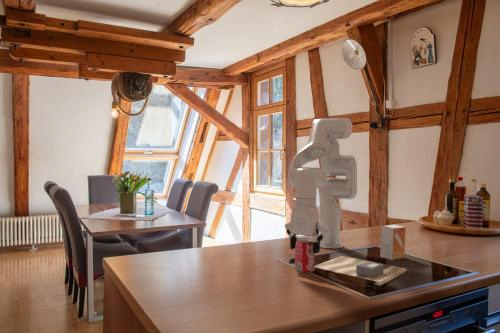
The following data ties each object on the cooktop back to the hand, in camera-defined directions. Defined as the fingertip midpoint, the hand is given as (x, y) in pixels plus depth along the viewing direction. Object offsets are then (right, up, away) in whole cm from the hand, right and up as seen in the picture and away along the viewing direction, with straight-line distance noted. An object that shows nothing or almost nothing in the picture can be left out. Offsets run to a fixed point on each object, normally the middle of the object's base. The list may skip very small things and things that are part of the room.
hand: (304, 250), depth 146 cm
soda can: (0, -8, +1) cm, 8 cm away
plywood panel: (+20, -8, +4) cm, 22 cm away
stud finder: (+22, -7, -4) cm, 24 cm away
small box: (+40, -8, +24) cm, 47 cm away
